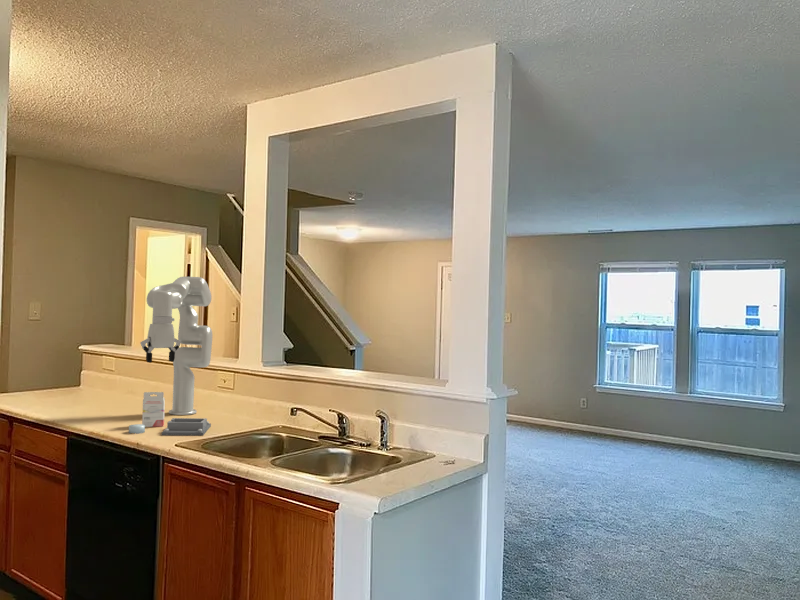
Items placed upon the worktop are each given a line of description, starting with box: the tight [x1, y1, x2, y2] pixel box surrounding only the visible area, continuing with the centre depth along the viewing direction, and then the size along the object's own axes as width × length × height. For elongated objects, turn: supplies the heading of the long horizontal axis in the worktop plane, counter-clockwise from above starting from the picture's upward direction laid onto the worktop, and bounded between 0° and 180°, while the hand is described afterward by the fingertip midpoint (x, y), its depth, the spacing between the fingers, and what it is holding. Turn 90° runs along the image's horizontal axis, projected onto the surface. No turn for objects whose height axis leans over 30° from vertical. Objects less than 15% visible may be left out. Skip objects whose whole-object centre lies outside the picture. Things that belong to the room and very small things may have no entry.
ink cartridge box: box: [141, 391, 166, 428], centre depth 270 cm, size 9×5×15 cm, turn 105°
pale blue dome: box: [128, 423, 146, 435], centre depth 256 cm, size 6×6×3 cm
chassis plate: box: [161, 417, 212, 437], centre depth 262 cm, size 20×16×4 cm
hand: (160, 361), depth 262 cm, fingers open, 9 cm apart
